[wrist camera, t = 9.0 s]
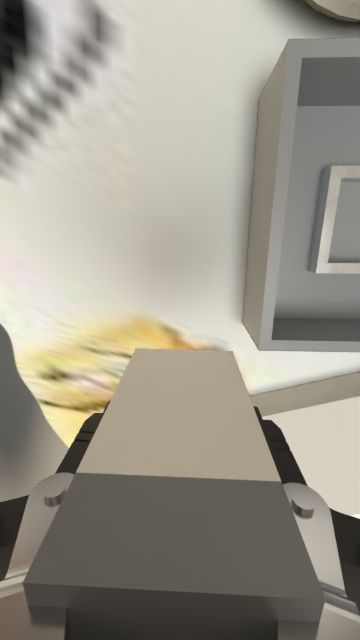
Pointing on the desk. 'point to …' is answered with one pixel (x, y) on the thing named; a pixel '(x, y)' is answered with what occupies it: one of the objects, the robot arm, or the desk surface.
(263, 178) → the box
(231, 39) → the desk surface
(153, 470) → the block
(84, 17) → the desk surface
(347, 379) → the disc drive
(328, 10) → the bowl
